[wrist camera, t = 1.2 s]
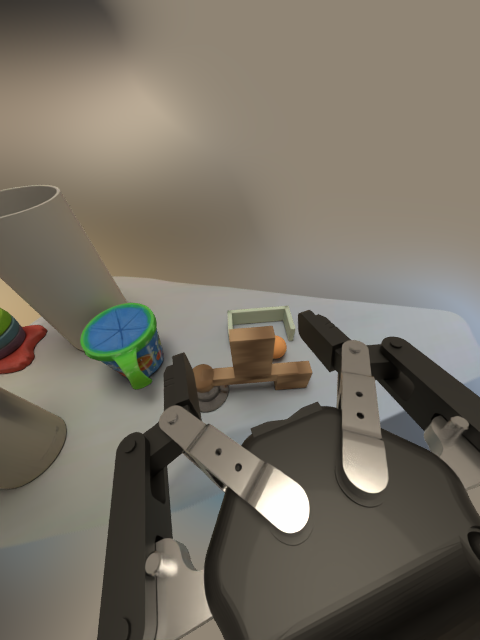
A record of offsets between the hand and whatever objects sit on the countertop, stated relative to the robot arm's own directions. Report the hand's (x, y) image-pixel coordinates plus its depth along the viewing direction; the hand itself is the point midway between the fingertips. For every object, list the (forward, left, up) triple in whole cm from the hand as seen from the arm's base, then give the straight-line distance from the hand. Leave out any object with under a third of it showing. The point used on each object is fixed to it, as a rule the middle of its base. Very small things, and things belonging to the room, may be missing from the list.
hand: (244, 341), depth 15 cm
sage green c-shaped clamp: (+4, +18, -22) cm, 29 cm away
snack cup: (-18, +13, -22) cm, 32 cm away
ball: (+6, +13, -20) cm, 24 cm away
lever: (+1, +7, -22) cm, 23 cm away
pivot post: (-6, +7, -22) cm, 24 cm away
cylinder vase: (-28, +22, -22) cm, 42 cm away
